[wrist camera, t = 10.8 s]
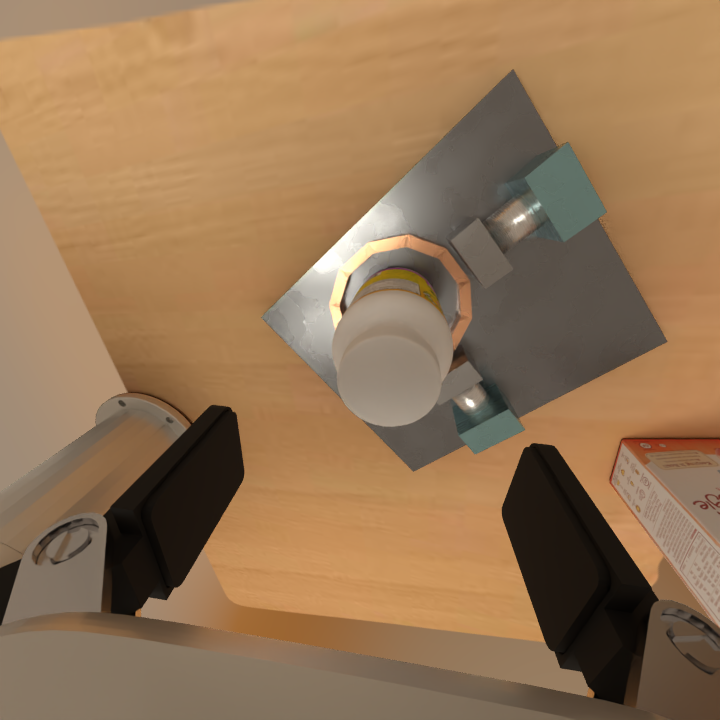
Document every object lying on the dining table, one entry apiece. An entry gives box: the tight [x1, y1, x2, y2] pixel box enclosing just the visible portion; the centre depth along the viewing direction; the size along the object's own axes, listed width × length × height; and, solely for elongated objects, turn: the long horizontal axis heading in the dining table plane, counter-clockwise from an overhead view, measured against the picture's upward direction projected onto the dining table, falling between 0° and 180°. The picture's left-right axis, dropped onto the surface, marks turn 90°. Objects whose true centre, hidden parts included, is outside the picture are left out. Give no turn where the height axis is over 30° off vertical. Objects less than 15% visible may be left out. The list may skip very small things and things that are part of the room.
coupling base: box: [261, 70, 667, 472], centre depth 24 cm, size 24×22×5 cm
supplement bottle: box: [332, 267, 453, 427], centre depth 19 cm, size 7×7×13 cm
